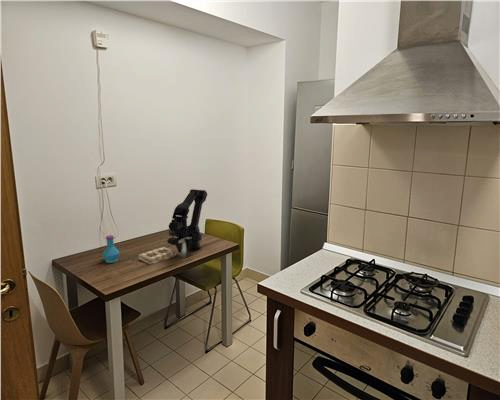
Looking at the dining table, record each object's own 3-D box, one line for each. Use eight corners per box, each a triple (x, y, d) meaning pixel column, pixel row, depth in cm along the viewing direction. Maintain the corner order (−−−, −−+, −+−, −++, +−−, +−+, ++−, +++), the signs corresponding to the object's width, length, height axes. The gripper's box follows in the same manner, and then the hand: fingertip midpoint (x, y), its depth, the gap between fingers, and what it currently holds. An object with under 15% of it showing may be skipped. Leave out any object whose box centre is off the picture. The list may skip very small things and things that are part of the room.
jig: (163, 251, 219) (163, 246, 218) (175, 255, 211) (175, 251, 210) (138, 259, 205) (138, 254, 204) (150, 264, 198) (150, 259, 197)
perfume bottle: (104, 264, 197) (101, 239, 194) (102, 259, 205) (100, 235, 202) (121, 261, 202) (119, 237, 198) (119, 256, 210) (117, 232, 206)
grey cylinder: (183, 254, 213) (183, 240, 211) (187, 256, 211) (187, 242, 209) (178, 256, 210) (178, 242, 208) (182, 257, 208) (182, 243, 206)
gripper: (185, 221, 219) (186, 244, 222) (161, 227, 205) (162, 252, 208) (197, 224, 212) (198, 248, 215) (172, 231, 198) (174, 257, 201)
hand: (183, 251), depth 210 cm, fingers open, 5 cm apart
